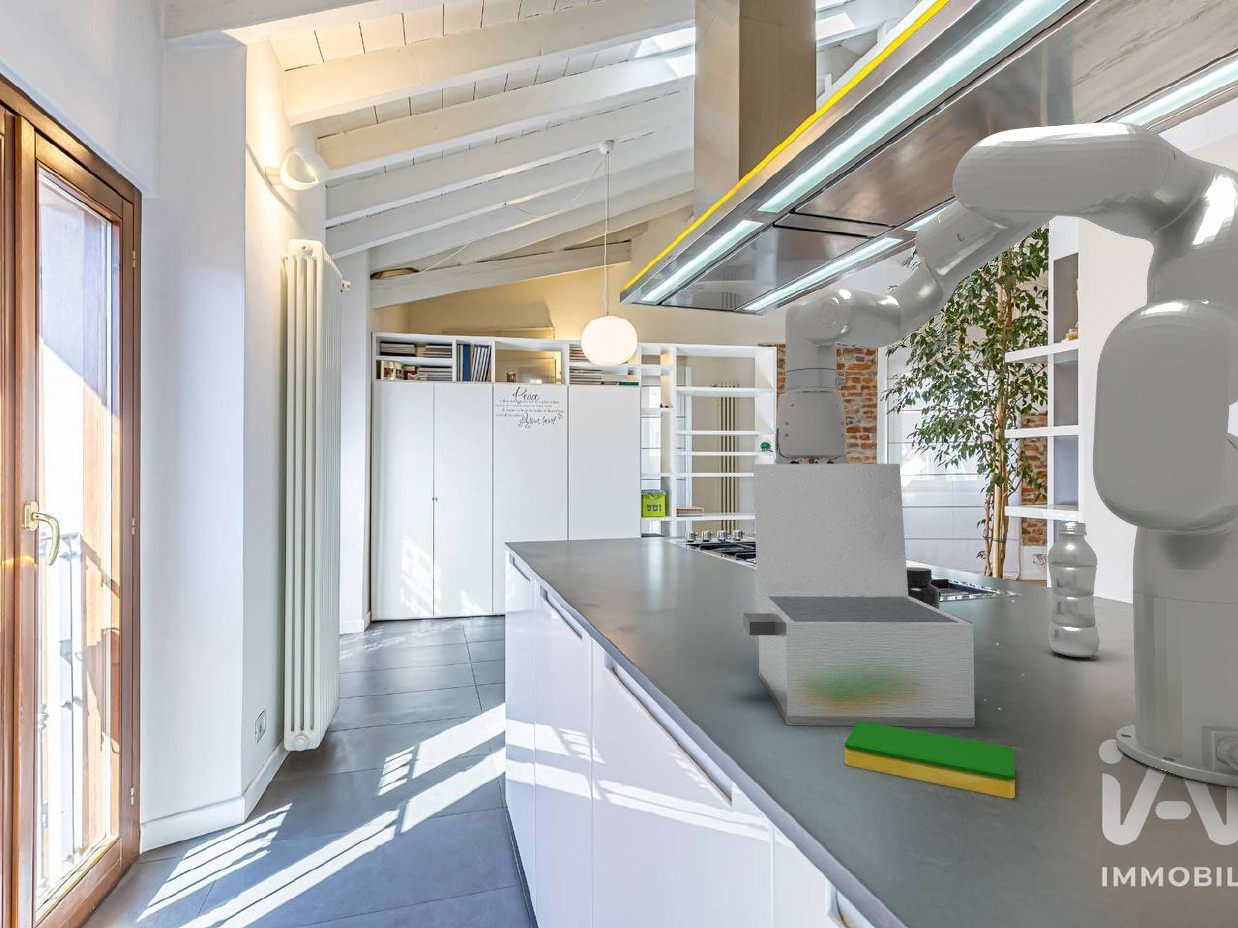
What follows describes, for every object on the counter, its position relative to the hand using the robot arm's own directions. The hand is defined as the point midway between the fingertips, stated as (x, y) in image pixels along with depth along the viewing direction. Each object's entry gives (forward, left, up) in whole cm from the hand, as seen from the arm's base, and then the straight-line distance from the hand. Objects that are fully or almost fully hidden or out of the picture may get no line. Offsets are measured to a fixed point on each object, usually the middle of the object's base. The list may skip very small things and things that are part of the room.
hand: (811, 504), depth 103 cm
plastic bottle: (+1, -39, -23) cm, 45 cm away
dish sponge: (-39, -1, -24) cm, 46 cm away
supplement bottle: (+9, -19, -23) cm, 31 cm away
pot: (-20, 0, -23) cm, 30 cm away
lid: (-10, 0, -3) cm, 10 cm away
